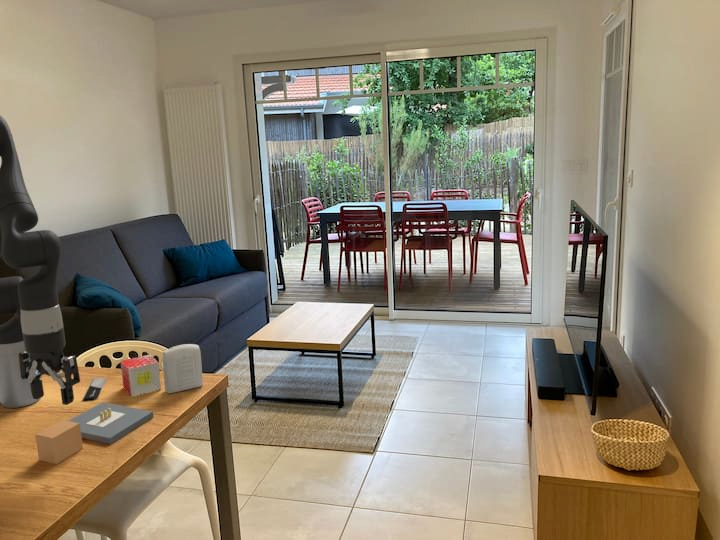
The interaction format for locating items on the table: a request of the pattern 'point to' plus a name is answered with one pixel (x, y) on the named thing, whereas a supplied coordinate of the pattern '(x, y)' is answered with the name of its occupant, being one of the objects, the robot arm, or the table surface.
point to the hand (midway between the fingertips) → (53, 400)
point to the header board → (110, 422)
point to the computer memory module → (94, 389)
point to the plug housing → (59, 441)
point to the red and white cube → (140, 375)
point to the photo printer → (182, 368)
